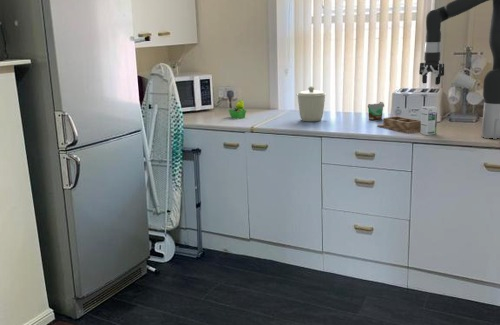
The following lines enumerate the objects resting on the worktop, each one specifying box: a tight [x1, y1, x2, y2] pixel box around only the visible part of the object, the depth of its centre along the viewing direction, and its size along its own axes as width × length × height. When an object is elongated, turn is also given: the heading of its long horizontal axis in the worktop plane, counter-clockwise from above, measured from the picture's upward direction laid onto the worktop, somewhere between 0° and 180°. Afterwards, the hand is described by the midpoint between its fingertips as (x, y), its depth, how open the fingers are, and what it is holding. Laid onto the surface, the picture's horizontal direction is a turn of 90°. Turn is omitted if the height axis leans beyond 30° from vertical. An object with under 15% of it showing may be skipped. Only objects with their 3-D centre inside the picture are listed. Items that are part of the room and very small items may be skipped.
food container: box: [367, 101, 385, 121], centre depth 308 cm, size 12×6×10 cm, turn 129°
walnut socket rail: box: [377, 115, 421, 134], centre depth 281 cm, size 24×14×5 cm, turn 27°
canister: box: [296, 86, 327, 122], centre depth 312 cm, size 18×18×21 cm
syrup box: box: [420, 105, 438, 136], centre depth 263 cm, size 6×6×14 cm
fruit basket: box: [228, 99, 247, 120], centre depth 335 cm, size 11×9×11 cm
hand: (430, 83), depth 258 cm, fingers open, 8 cm apart
